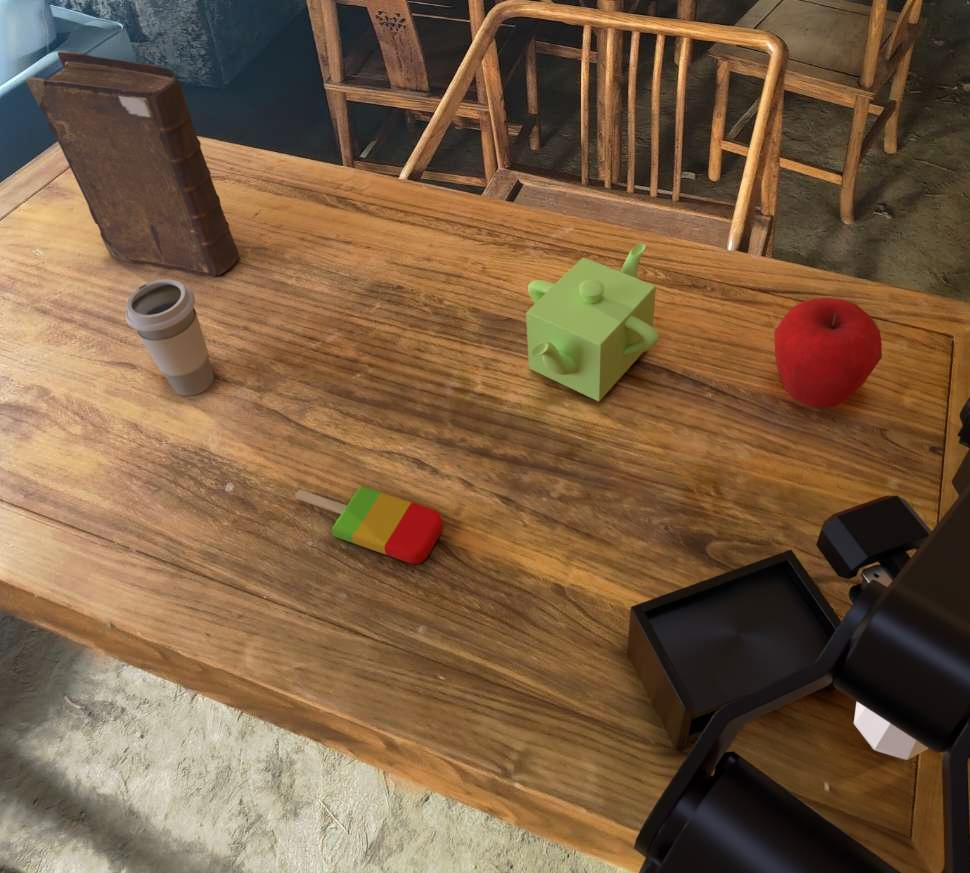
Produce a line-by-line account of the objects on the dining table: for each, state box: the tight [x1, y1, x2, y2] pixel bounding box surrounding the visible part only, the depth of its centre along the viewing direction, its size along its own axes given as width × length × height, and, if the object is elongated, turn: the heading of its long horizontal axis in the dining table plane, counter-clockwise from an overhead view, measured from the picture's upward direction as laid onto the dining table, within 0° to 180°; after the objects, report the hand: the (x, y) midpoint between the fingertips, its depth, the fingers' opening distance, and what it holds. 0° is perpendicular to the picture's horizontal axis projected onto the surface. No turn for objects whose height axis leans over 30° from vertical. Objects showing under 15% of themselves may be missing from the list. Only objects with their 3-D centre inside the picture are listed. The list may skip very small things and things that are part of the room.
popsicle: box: [294, 485, 444, 565], centre depth 87 cm, size 6×15×2 cm, turn 66°
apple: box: [773, 297, 883, 409], centre depth 90 cm, size 10×10×11 cm
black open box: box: [626, 549, 842, 752], centre depth 73 cm, size 9×14×8 cm, turn 110°
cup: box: [125, 278, 215, 397], centre depth 98 cm, size 7×7×12 cm
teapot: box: [525, 243, 660, 402], centre depth 96 cm, size 15×13×11 cm
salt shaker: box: [853, 701, 930, 761], centre depth 60 cm, size 5×5×11 cm
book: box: [26, 50, 240, 278], centre depth 108 cm, size 17×7×25 cm, turn 64°
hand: (910, 697), depth 61 cm, fingers closed on salt shaker, 4 cm apart
